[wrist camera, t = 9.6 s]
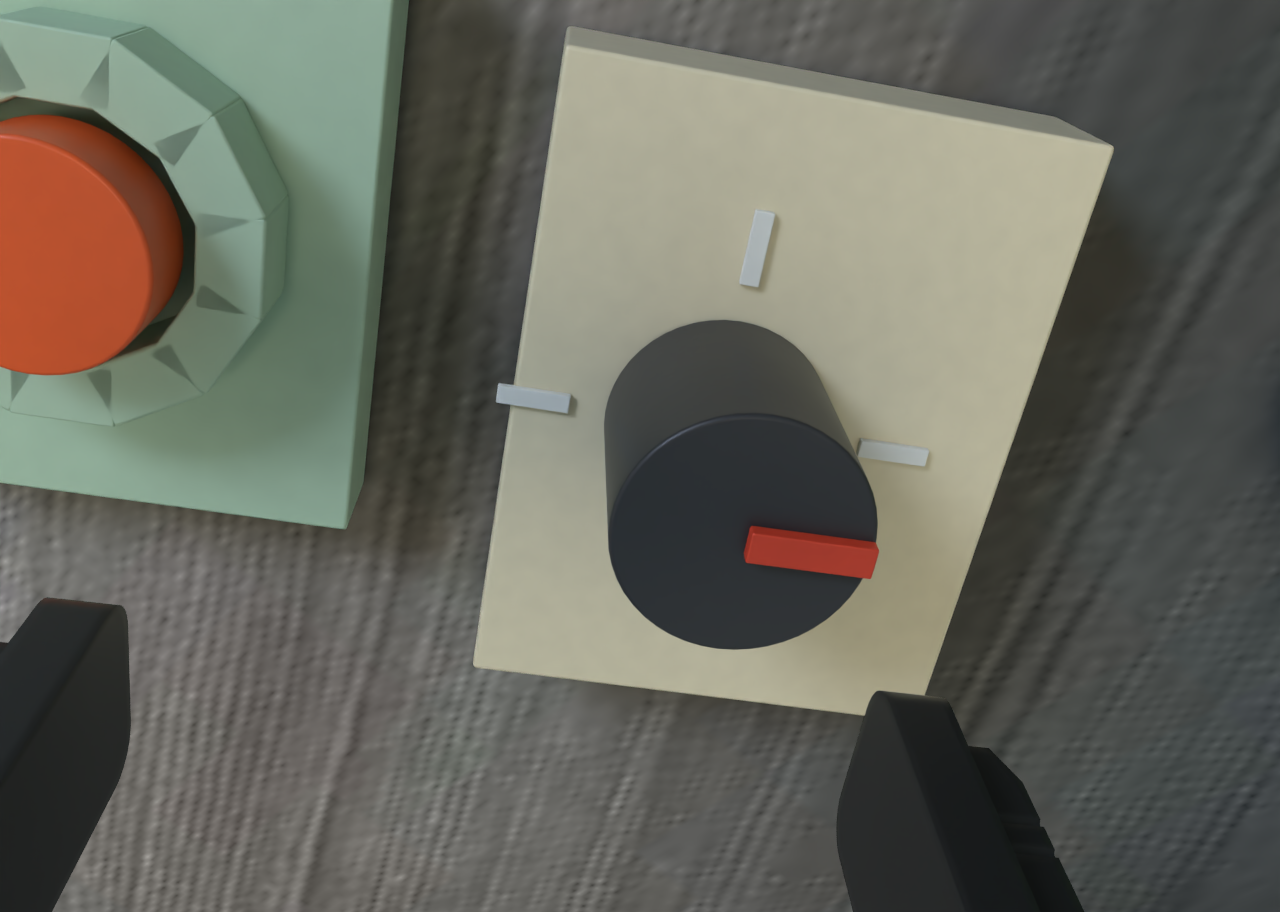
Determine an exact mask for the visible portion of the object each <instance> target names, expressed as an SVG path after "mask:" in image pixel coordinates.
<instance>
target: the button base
mask: <svg viewBox="0 0 1280 912" xmlns="http://www.w3.org/2000/svg"><path fill="white" fill-rule="evenodd" d="M408 6H409V0H0V122H1V121H4V120H7V119H10V118H13V117H19V116H26V115H54V116H63V117H67V118H71V119H75V120H79V121H82V122H85V123H87V124H90V125H93V126H95V127H97V128H99V129H101V130H103V131H105V132H107V133H109V134H111V135H113V136H114V137H116V138H117V139H119V140H120V141H122V142H123V143H125V144H126V145H127V146H128V147H130V148H131V149H132V150H133V151H135V152H136V153H137V154H138V155H139V156H140V157H141V158H142V159H143V160H144V161H145V162H146V163H147V164H148V165H149V166H150V167H151V169H152V170H153V171H154V172H155V174H156V175H157V176H158V177H159V179H160V180H161V182H162V183H163V185H164V187H165V188H166V190H167V192H168V193H169V195H170V197H171V200H172V202H173V204H174V206H175V208H176V211H177V215H178V218H179V221H180V225H181V230H182V236H183V250H184V254H183V265H182V270H181V274H180V278H179V282H178V284H177V286H176V289H175V291H174V293H173V295H172V297H171V298H170V300H169V302H168V303H167V305H166V306H165V307H164V308H163V310H162V311H161V312H160V313H159V314H158V315H157V316H156V317H155V318H154V319H153V320H152V321H151V322H150V323H149V325H148V326H147V327H146V328H145V329H144V330H143V331H142V332H141V333H140V334H139V335H138V336H137V337H136V338H135V339H134V340H133V341H132V342H131V343H130V344H129V345H128V346H127V347H126V348H124V349H123V350H122V351H121V352H120V353H119V354H118V355H116V356H115V357H113V358H111V359H110V360H108V361H107V362H105V363H103V364H101V365H98V366H96V367H94V368H92V369H88V370H85V371H81V372H78V373H72V374H66V375H34V374H26V373H21V372H16V371H12V370H9V369H5V368H2V367H0V483H5V484H12V485H20V486H27V487H34V488H42V489H49V490H57V491H64V492H71V493H79V494H86V495H93V496H101V497H108V498H116V499H123V500H130V501H138V502H145V503H152V504H160V505H167V506H175V507H182V508H189V509H197V510H204V511H212V512H219V513H226V514H234V515H241V516H248V517H256V518H263V519H271V520H278V521H285V522H293V523H300V524H307V525H315V526H322V527H330V528H337V529H346V528H347V526H348V524H349V521H350V518H351V515H352V513H353V510H354V507H355V504H356V502H357V499H358V496H359V494H360V491H361V488H362V485H363V483H364V473H365V463H366V452H367V441H368V431H369V420H370V410H371V399H372V388H373V378H374V367H375V356H376V346H377V335H378V325H379V314H380V303H381V293H382V282H383V271H384V261H385V250H386V240H387V229H388V218H389V208H390V197H391V187H392V176H393V165H394V155H395V144H396V133H397V123H398V112H399V102H400V91H401V80H402V70H403V59H404V48H405V38H406V27H407V17H408Z"/></svg>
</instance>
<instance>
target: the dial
mask: <svg viewBox="0 0 1280 912" xmlns="http://www.w3.org/2000/svg"><path fill="white" fill-rule="evenodd" d="M604 443H605V470H606V497H607V524H608V550H609V555H610V560H611V565H612V568H613V571H614V573H615V576H616V579H617V581H618V583H619V585H620V587H621V588H622V590H623V592H624V594H625V595H626V596H627V598H628V599H629V600H630V602H631V603H632V605H633V606H634V607H635V608H636V609H637V610H638V611H639V612H640V613H641V614H642V615H643V616H644V617H645V618H647V619H648V620H649V621H650V622H652V623H653V624H654V625H656V626H657V627H658V628H660V629H662V630H663V631H665V632H667V633H669V634H670V635H672V636H675V637H677V638H679V639H682V640H684V641H687V642H690V643H693V644H696V645H700V646H705V647H710V648H716V649H729V650H740V649H754V648H760V647H767V646H770V645H774V644H778V643H782V642H785V641H787V640H790V639H792V638H795V637H798V636H800V635H802V634H804V633H806V632H808V631H809V630H811V629H813V628H815V627H816V626H818V625H819V624H821V623H822V622H824V621H825V620H827V619H828V618H829V617H830V616H832V615H833V614H834V613H835V612H836V611H837V610H839V609H840V608H841V607H842V605H843V604H844V603H845V602H846V601H847V600H848V599H849V598H850V597H851V595H852V594H853V593H854V591H855V590H856V588H857V587H858V586H859V584H860V583H861V581H862V579H863V578H865V579H871V578H872V574H873V571H874V568H875V564H876V561H877V558H878V554H879V549H878V546H877V544H876V540H877V528H878V518H877V507H876V503H875V498H874V494H873V491H872V489H871V486H870V484H869V481H868V479H867V476H866V474H865V472H864V470H863V468H862V466H861V464H860V462H859V460H858V457H857V455H856V453H855V451H854V449H853V447H852V445H851V443H850V441H849V439H848V436H847V434H846V432H845V430H844V428H843V426H842V424H841V422H840V420H839V417H838V415H837V413H836V411H835V409H834V407H833V405H832V403H831V401H830V399H829V396H828V394H827V392H826V390H825V388H824V386H823V384H822V382H821V380H820V377H819V376H818V374H817V372H816V371H815V369H814V367H813V365H812V364H811V363H810V362H809V360H808V359H807V358H806V357H805V355H804V354H803V353H802V352H801V351H800V350H799V349H798V348H796V347H795V346H794V345H793V344H792V343H790V342H789V341H788V340H786V339H785V338H783V337H782V336H780V335H778V334H776V333H774V332H772V331H771V330H769V329H766V328H763V327H760V326H757V325H755V324H750V323H746V322H741V321H732V320H709V321H703V322H697V323H692V324H689V325H685V326H682V327H679V328H676V329H674V330H672V331H669V332H667V333H665V334H663V335H662V336H660V337H658V338H656V339H655V340H653V341H652V342H650V343H649V344H648V345H646V346H645V347H644V348H643V349H641V350H640V351H639V352H638V353H637V354H636V355H635V356H634V357H633V358H632V359H631V360H630V361H629V362H628V364H627V365H626V366H625V368H624V369H623V370H622V372H621V373H620V375H619V377H618V378H617V380H616V382H615V383H614V386H613V388H612V390H611V393H610V395H609V398H608V402H607V406H606V410H605V418H604Z"/></svg>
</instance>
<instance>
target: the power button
mask: <svg viewBox="0 0 1280 912" xmlns="http://www.w3.org/2000/svg"><path fill="white" fill-rule="evenodd" d="M183 254H184V250H183V236H182V230H181V225H180V221H179V218H178V215H177V211H176V208H175V206H174V204H173V202H172V200H171V197H170V195H169V193H168V192H167V190H166V188H165V187H164V185H163V183H162V182H161V180H160V179H159V177H158V176H157V175H156V174H155V172H154V171H153V170H152V169H151V167H150V166H149V165H148V164H147V163H146V162H145V161H144V160H143V159H142V158H141V157H140V156H139V155H138V154H137V153H136V152H135V151H133V150H132V149H131V148H130V147H128V146H127V145H126V144H125V143H123V142H122V141H120V140H119V139H117V138H116V137H114V136H113V135H111V134H109V133H107V132H105V131H103V130H101V129H99V128H97V127H95V126H93V125H90V124H87V123H85V122H82V121H79V120H75V119H71V118H67V117H63V116H54V115H26V116H19V117H13V118H10V119H7V120H4V121H1V122H0V367H2V368H5V369H9V370H12V371H16V372H21V373H26V374H34V375H66V374H72V373H78V372H81V371H85V370H88V369H92V368H94V367H96V366H98V365H101V364H103V363H105V362H107V361H108V360H110V359H111V358H113V357H115V356H116V355H118V354H119V353H120V352H121V351H122V350H123V349H124V348H126V347H127V346H128V345H129V344H130V343H131V342H132V341H133V340H134V339H135V338H136V337H137V336H138V335H139V334H140V333H141V332H142V331H143V330H144V329H145V328H146V327H147V326H148V325H149V323H150V322H151V321H152V320H153V319H154V318H155V317H156V316H157V315H158V314H159V313H160V312H161V311H162V310H163V308H164V307H165V306H166V305H167V303H168V302H169V300H170V298H171V297H172V295H173V293H174V291H175V289H176V286H177V284H178V282H179V278H180V274H181V270H182V265H183Z"/></svg>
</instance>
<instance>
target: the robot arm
mask: <svg viewBox="0 0 1280 912" xmlns="http://www.w3.org/2000/svg"><path fill="white" fill-rule="evenodd" d="M130 728H131V715H130V680H129V645H128V620H127V615H126V612H125V609H124V608H123V607H122V606H121V605H112V604H103V603H93V602H84V601H75V600H66V599H57V598H44V599H43V600H41V601H40V602H39V603H38V604H37V606H36V607H35V608H34V610H33V611H32V612H31V614H30V615H29V616H28V618H27V619H26V620H25V622H24V623H23V624H22V626H21V627H20V628H19V630H18V631H17V632H16V634H15V635H14V636H13V638H12V639H11V640H10V642H9V643H3V642H0V912H52V910H53V908H54V907H55V905H56V903H57V901H58V899H59V897H60V895H61V893H62V891H63V889H64V887H65V885H66V883H67V881H68V879H69V877H70V875H71V873H72V872H73V870H74V868H75V866H76V864H77V862H78V860H79V858H80V856H81V854H82V852H83V850H84V848H85V846H86V844H87V842H88V840H89V838H90V837H91V835H92V833H93V831H94V829H95V827H96V825H97V823H98V821H99V819H100V817H101V815H102V813H103V811H104V809H105V807H106V805H107V803H108V802H109V800H110V798H111V796H112V794H113V792H114V790H115V788H116V786H117V784H118V781H119V779H120V776H121V773H122V770H123V767H124V764H125V760H126V756H127V751H128V745H129V739H130ZM837 847H838V853H839V858H840V862H841V866H842V870H843V874H844V878H845V882H846V885H847V889H848V893H849V897H850V901H851V905H852V909H853V912H1084V910H1083V908H1082V906H1081V904H1080V902H1079V900H1078V898H1077V896H1076V893H1075V891H1074V889H1073V887H1072V885H1071V883H1070V881H1069V879H1068V877H1067V875H1066V873H1065V870H1064V868H1063V866H1062V864H1061V862H1060V860H1059V858H1055V856H1054V851H1055V850H1054V847H1053V845H1052V843H1051V841H1050V839H1049V837H1048V835H1047V833H1046V831H1045V829H1044V827H1040V818H1039V816H1038V814H1037V812H1036V810H1035V808H1034V806H1033V804H1032V801H1031V799H1030V797H1029V795H1028V793H1027V791H1026V789H1025V787H1024V785H1023V783H1022V782H1021V781H1020V780H1019V778H1018V777H1017V776H1016V775H1015V774H1014V773H1013V772H1012V771H1011V770H1010V769H1009V768H1008V767H1007V766H1006V765H1005V764H1004V763H1003V762H1002V761H1001V760H1000V759H999V758H998V757H997V756H996V755H995V754H994V753H993V752H992V751H991V750H990V749H989V748H981V747H972V746H968V745H967V742H966V740H965V738H964V735H963V733H962V731H961V728H960V726H959V724H958V722H957V719H956V717H955V715H954V712H953V710H952V708H951V706H950V704H949V702H948V701H947V700H946V699H945V698H943V697H935V696H926V695H916V694H907V693H898V692H889V691H880V690H879V691H876V692H875V693H874V694H873V696H872V697H871V699H870V701H869V703H868V706H867V709H866V713H865V716H864V719H863V723H862V726H861V729H860V733H859V736H858V739H857V743H856V746H855V749H854V752H853V756H852V759H851V762H850V766H849V769H848V772H847V776H846V779H845V782H844V786H843V789H842V792H841V796H840V800H839V805H838V813H837Z"/></svg>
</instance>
